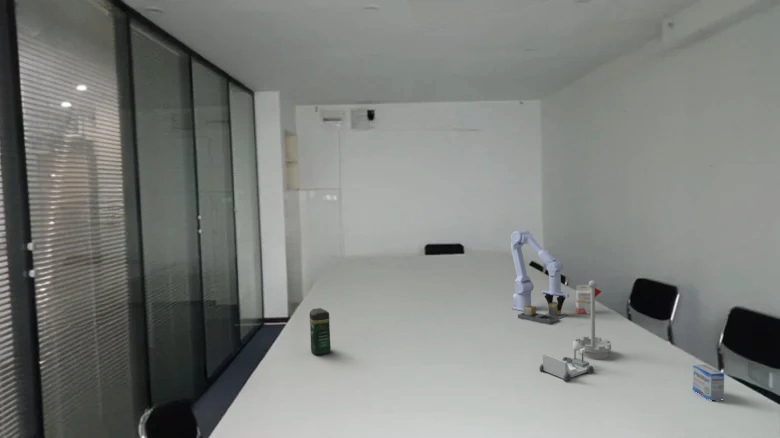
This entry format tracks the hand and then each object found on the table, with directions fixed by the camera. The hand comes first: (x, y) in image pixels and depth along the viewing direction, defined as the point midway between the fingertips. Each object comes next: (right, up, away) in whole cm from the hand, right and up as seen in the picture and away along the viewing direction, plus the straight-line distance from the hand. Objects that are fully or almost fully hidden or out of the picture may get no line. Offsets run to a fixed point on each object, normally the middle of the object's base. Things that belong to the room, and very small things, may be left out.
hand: (555, 309), depth 242 cm
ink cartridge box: (+17, -3, +4) cm, 18 cm away
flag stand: (-5, -7, -57) cm, 57 cm away
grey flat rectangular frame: (-11, -4, -6) cm, 13 cm away
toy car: (-21, -9, -73) cm, 77 cm away
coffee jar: (-117, -10, -43) cm, 125 cm away
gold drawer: (-14, -4, -2) cm, 15 cm away
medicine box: (+14, -9, -96) cm, 97 cm away
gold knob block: (0, -3, 0) cm, 3 cm away
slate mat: (0, -3, 0) cm, 3 cm away
